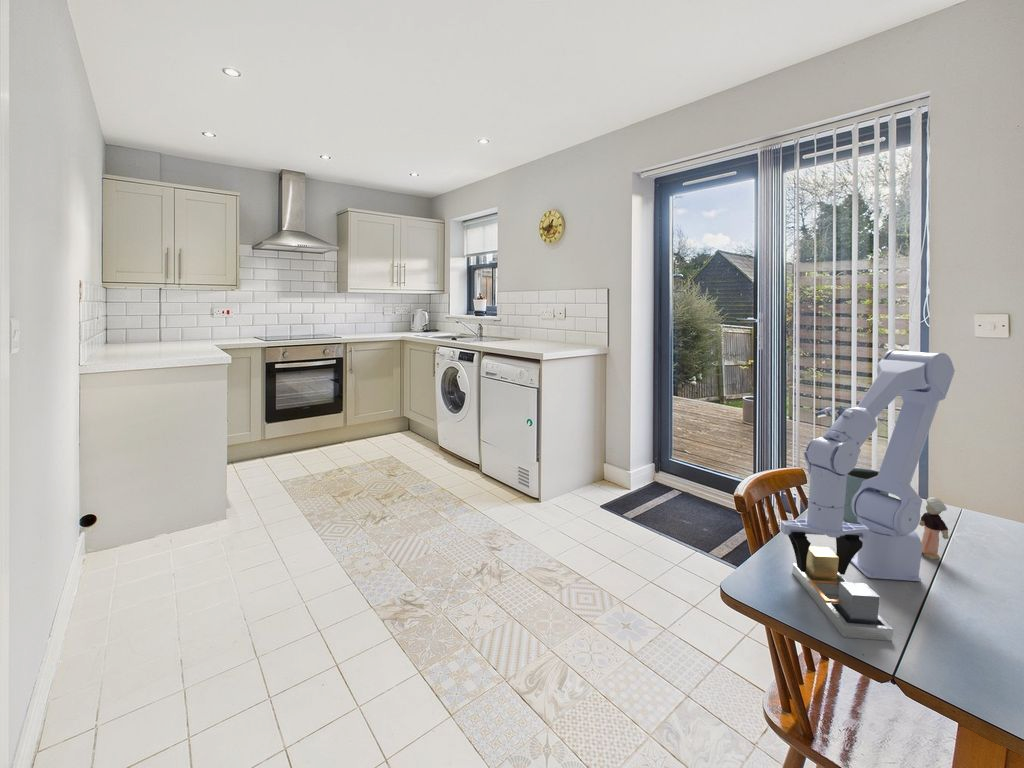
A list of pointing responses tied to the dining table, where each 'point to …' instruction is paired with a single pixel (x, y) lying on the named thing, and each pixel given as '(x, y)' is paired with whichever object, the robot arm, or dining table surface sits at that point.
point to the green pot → (855, 490)
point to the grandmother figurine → (933, 528)
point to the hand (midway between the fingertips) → (820, 570)
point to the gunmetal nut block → (858, 603)
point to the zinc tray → (830, 607)
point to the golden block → (822, 564)
